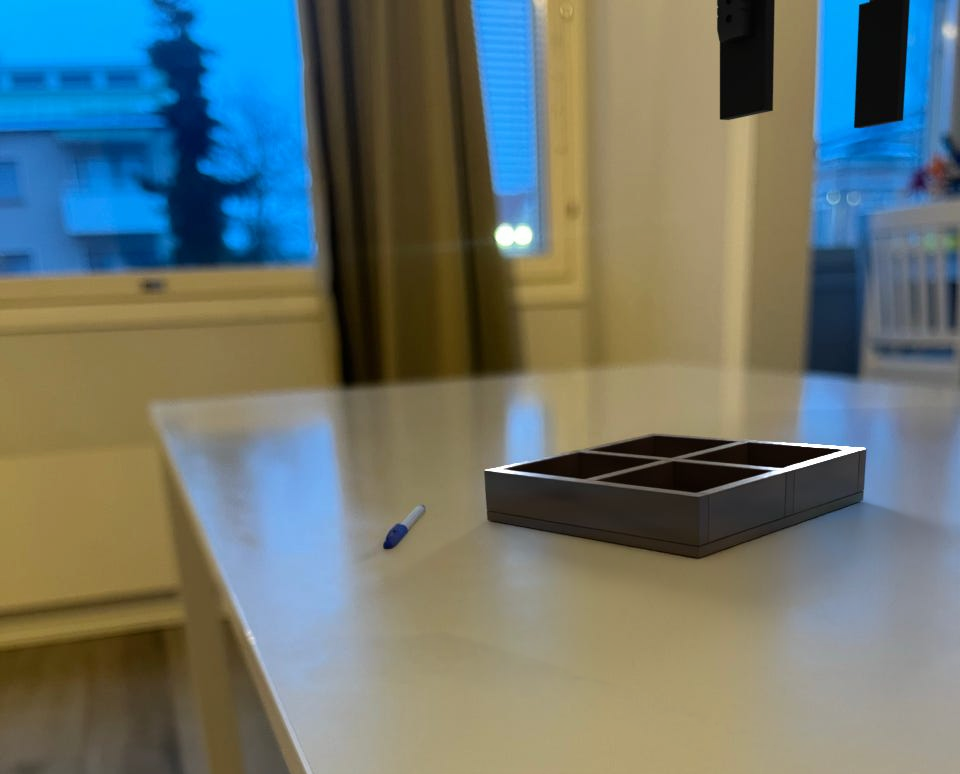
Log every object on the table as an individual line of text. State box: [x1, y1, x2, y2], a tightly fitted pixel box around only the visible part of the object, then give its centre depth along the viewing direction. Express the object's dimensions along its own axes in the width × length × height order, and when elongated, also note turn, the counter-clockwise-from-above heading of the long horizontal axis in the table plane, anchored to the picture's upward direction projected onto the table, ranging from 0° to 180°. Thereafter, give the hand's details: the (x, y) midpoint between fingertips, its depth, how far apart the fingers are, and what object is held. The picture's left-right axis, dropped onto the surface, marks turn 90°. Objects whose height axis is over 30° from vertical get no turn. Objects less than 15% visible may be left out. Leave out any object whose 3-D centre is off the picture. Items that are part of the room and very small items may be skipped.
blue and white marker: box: [382, 504, 426, 550], centre depth 61 cm, size 10×1×1 cm, turn 174°
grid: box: [483, 432, 867, 559], centre depth 60 cm, size 16×16×3 cm
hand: (816, 121), depth 55 cm, fingers open, 13 cm apart
